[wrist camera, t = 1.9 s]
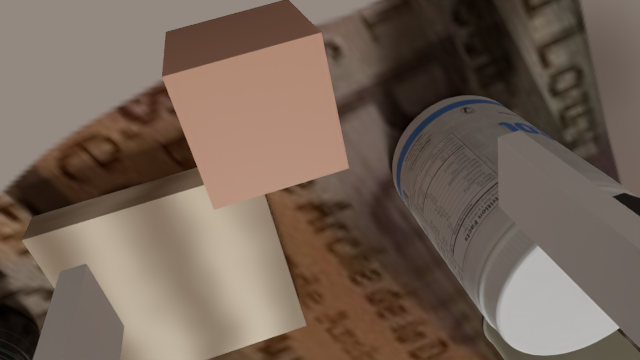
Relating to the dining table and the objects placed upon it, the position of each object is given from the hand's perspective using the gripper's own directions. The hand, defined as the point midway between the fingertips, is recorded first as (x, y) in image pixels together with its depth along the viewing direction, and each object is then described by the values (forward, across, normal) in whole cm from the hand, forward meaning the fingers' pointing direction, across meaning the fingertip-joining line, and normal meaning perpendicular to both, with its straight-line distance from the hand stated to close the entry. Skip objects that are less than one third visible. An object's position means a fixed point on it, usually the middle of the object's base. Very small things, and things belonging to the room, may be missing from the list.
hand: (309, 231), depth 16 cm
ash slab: (+17, +8, +12) cm, 23 cm away
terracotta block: (+17, 0, 0) cm, 17 cm away
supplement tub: (+17, -12, +10) cm, 23 cm away
